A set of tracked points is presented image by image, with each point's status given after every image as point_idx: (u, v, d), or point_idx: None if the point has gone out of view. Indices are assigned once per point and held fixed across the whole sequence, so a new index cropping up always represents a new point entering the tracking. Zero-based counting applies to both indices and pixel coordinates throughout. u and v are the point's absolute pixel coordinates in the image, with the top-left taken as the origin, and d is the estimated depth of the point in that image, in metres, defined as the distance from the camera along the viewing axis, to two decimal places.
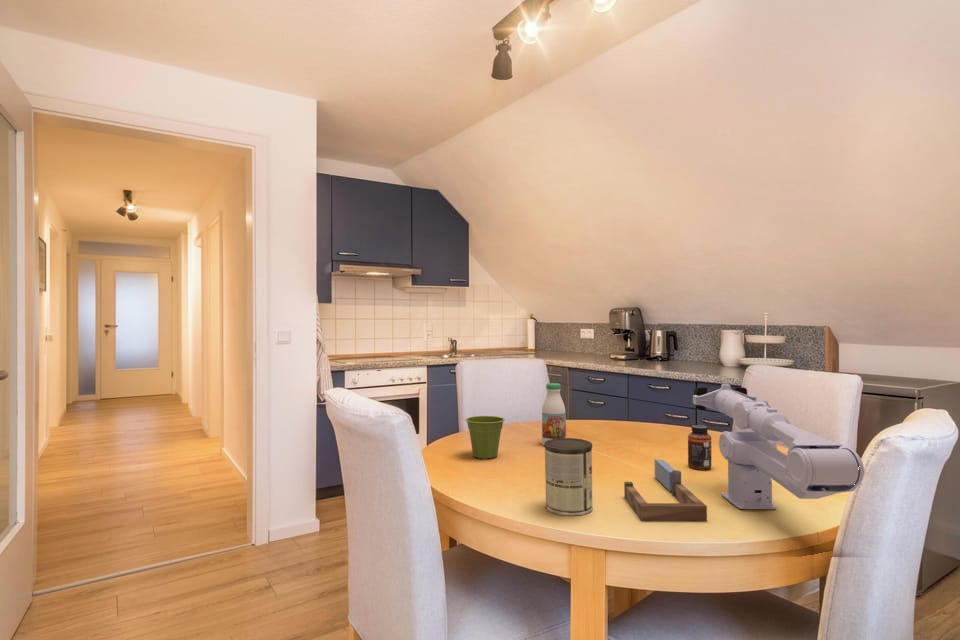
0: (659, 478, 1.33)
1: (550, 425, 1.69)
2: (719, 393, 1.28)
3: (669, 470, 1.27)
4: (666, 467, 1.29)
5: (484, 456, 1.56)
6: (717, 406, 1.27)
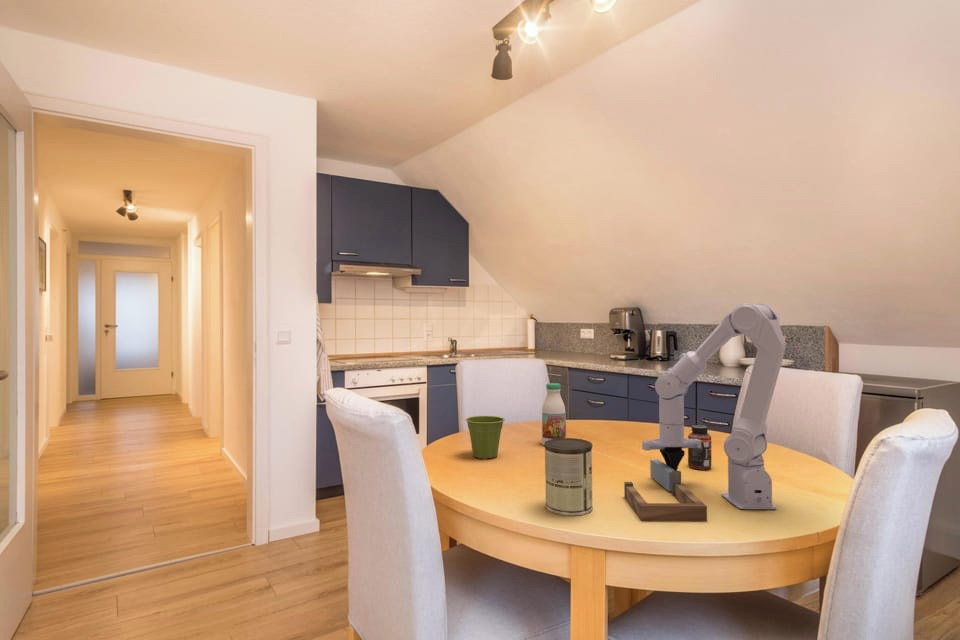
0: (656, 478, 1.33)
1: (550, 425, 1.69)
2: None
3: (668, 470, 1.27)
4: (664, 467, 1.29)
5: (484, 456, 1.56)
6: (663, 435, 1.30)
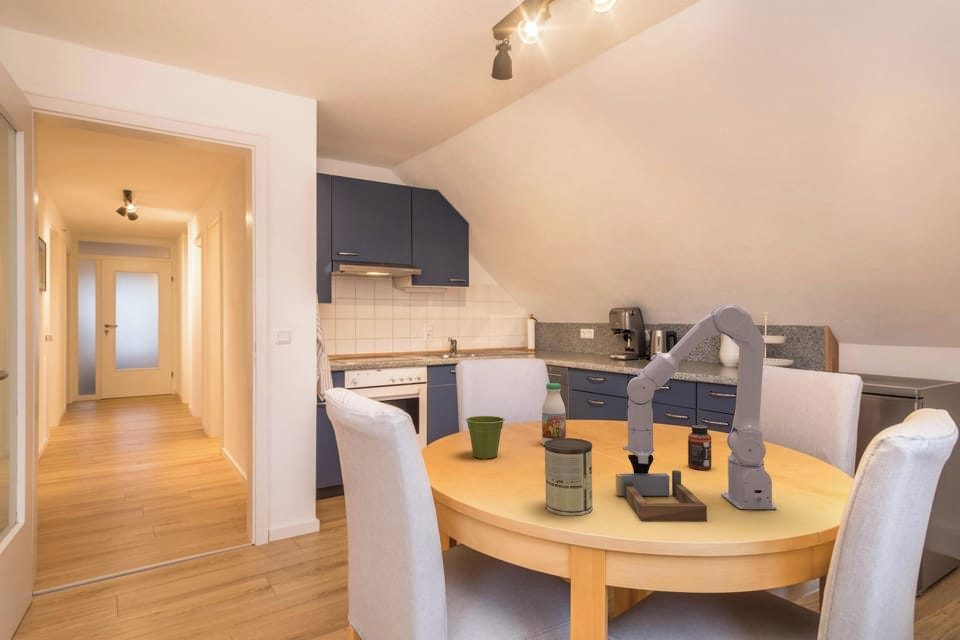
0: None
1: (550, 425, 1.69)
2: (632, 445, 1.24)
3: (662, 475, 1.23)
4: (651, 475, 1.23)
5: (484, 456, 1.56)
6: (645, 443, 1.22)
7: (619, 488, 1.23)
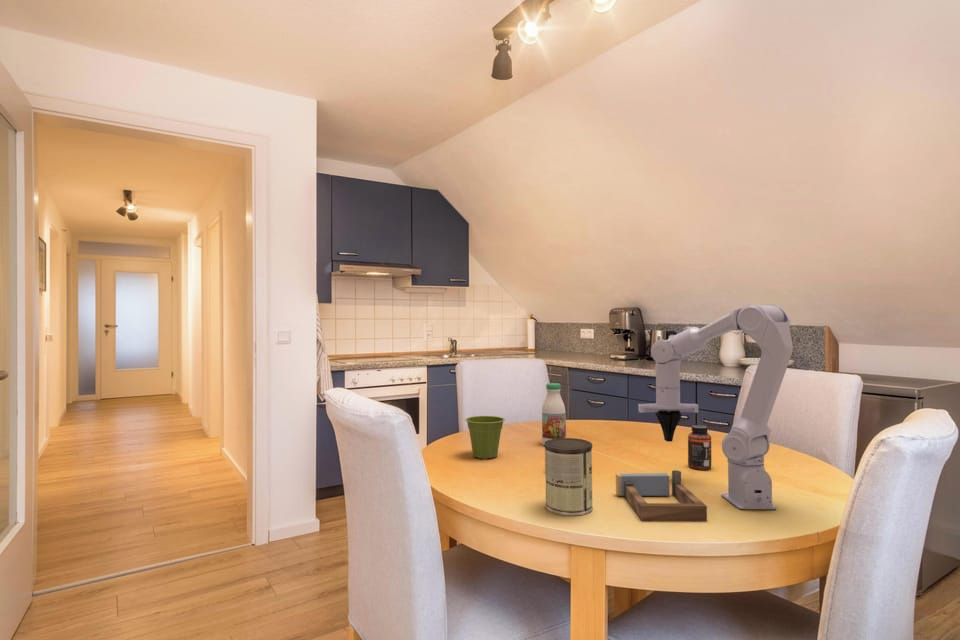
0: None
1: (550, 425, 1.69)
2: None
3: (662, 475, 1.23)
4: (651, 475, 1.23)
5: (484, 456, 1.56)
6: (658, 399, 1.34)
7: (619, 488, 1.23)
